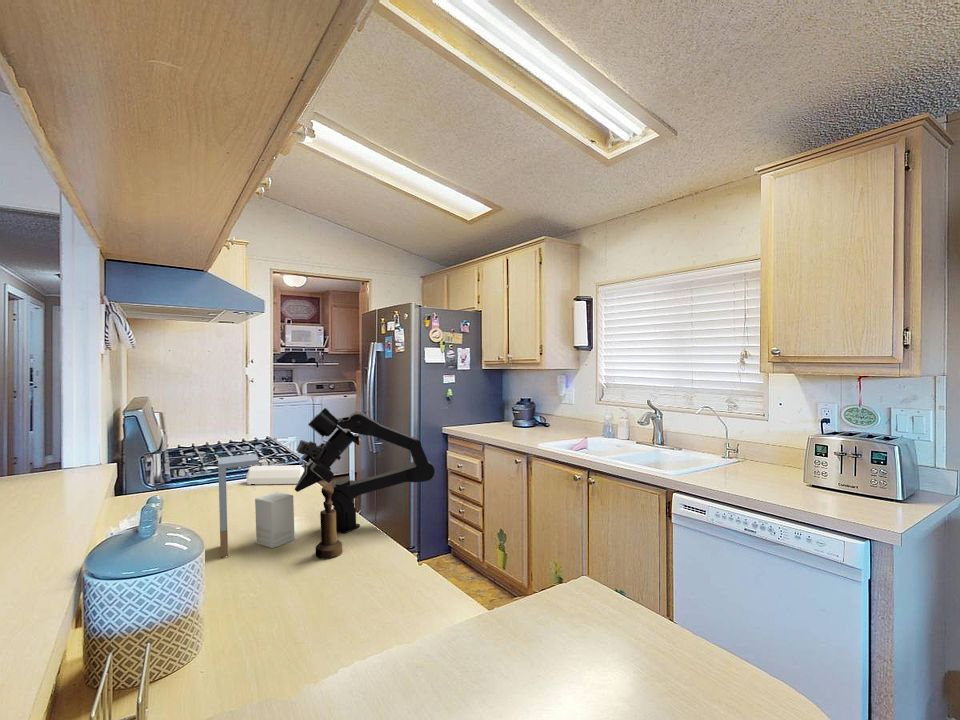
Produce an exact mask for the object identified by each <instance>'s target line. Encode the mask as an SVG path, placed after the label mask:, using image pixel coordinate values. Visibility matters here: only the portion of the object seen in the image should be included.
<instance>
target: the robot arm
mask: <svg viewBox="0 0 960 720" xmlns="http://www.w3.org/2000/svg"><path fill="white" fill-rule="evenodd" d="M307 426H309V427H310V428H311V429H312V430H314V431H315V432H316V433H317V434H318V435H320V437H322V438H324V437H329V438H328V440H327V441H326V442H325V443H324V442H321V443H320V444H319V445H317V442H313V441H311V440H310V441H309V442H308V441H306V440H303V439H302V440H301V439H300V440H299V443H298V445H297V448H296V452H297V453H299V454H301V455H302V456H300V457H301V459H302V460H303V461H305V462H306V463H305V462H303V468H304V472H303V474H302V476H301V478H300V480H299V482H298V483H297V484H295V485H296V486H295V487H294V491H296V492H297V493H299V492H300V491H302V490H304V489H306V488H309V487H310V486H312V485H315V484H317V483H319V482H321V481H326V482H327V484H330V485H332V486H333V488H334V491H333V494H332V496H331V501H332V502H333V503H332V509H334V510H336V532H339V533H342V534H343V533H344V534H345V533H349V532H350V531H352V530H355V529H357V528H360V527H361V524H360V523H357V507H356V506H355V505H356V504H355V503H356V502H355V501H356V500H355V499H356V498H358V497H359V496H361V495H365V494H369V493H372V492H375V491H376V492H377V491H379V490H383V489H386V488H390V487H394V486H397V485H400V484H403V483H425V482H429V481H431V480H432V479H433V478H434V476H435V467H434V465H433V464H432V463H431V461H430V460H428V459H427V456H426V453H425V451H424V448H423V446H422V442H421V441H420V440H419V438H417V437H414V436H410V435H408V434H405V433H403V432H400V431H398V430H396V429H393V428H391V427H387V426H386V425H383V424H381V423H378V422H377V421H376V420H374V419H373V418H371V417H369V416H368V415H367V414H365V413H363V412H361V411H354V412H352V413H351V414H350V415H349V416H345V417H341V418H337V417H336V416H335V415H333V413H331V412H330V410H329V409H328V408H326V407H324V408H323V409H322V410H321V411H320V412H319V413H318V414H316V415H315V416H314V417H313V418H312V419H311V420H310V421H309V422H308V424H307ZM343 429H344V430H343ZM335 430H336V431H335ZM355 434H357V435H355ZM360 435H362V436H369V437H376V438H378V439H381V440H383V441H386V442H389V443H391V444H393V445H395V446H399V447H401V448H404V449H406V450H409V453H410V454H411V458H412V460H413V461H412V462H409V464H407V465H405V466H403V467H402V468H399V469H395V470H391V471H387V472H383V473H381V474H375V475H373V476H369V477H365V478H362V479H358V480H355V479H354V480H352V479H350V476H349V475H347V476H344V477H343V478H335V481H333V480H334V477H335V474H334V472H333V471H332V468H331V467H332V466H333V465H334V464H335V463H336V461H340V460H341V459H342V454H343V453H344V452H345V451H346V450H347V449H348V448H349V446H351V444H352V443H353V444H355V445H357V446H359V445H360ZM330 436H331V437H330ZM332 481H333V482H332Z"/></svg>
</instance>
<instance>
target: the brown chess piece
mask: <svg viewBox="0 0 960 720" xmlns="http://www.w3.org/2000/svg"><path fill="white" fill-rule="evenodd" d="M330 484H331V483H327V484H325V485H322V488H321V491H320V492H321V494H322V496H323V497H324V501H323V507H324V509H322V510H320V513H319V518H320V542H318V544H317V545H316V546H315V557H316V558H317V557H318V558H317V559H321V558H324V559H326V558H328V559H332V558H336V557H338V555H339V556H341V554H342V553H343V542H342V541H340V540H339V539H337V537H338V536H337V531H336V510H334V509H333V505H332V503H333V502H332V501H331V496H332V494H333V491H334V488H333V486H332V485H330Z"/></svg>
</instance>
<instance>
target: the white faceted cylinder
mask: <svg viewBox="0 0 960 720" xmlns="http://www.w3.org/2000/svg"><path fill="white" fill-rule="evenodd" d="M303 472H304V466H301V465H300V464H299V465H297V464H295V465H250V468H249V469H248V471H247V473H246V476H245V478H246V483H247V485H251V484H255V485H297V483H298V482H299V480H300V478H301V476H302V474H303Z"/></svg>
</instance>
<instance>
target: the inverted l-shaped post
mask: <svg viewBox="0 0 960 720" xmlns="http://www.w3.org/2000/svg"><path fill="white" fill-rule="evenodd" d="M258 465H260V459H259V457H258V455H257V453H252V454H251V453H250V454H249V453H248V454H239V455H231V456H224V457H223V456H221V457H218V458H217V466H218V469H217V470H218V471H217V473H218V501H219V503H218V504H219V534H220V535H219V536H220V537H219V538H220V539H219V541H220V542H219V546H220V558H221V557H226V556H228V557H229V543H228V542H229V541H228V539H229V538H228V533H229V532H228V506H227V505H228V503H227V501H228V498H227V469H231V468H239V467H247V466H258ZM226 558H227V557H226Z"/></svg>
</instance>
